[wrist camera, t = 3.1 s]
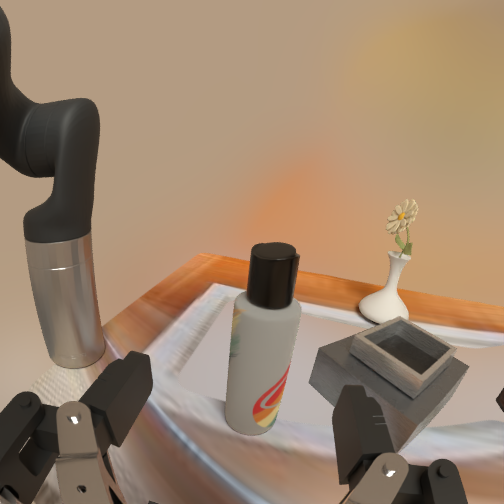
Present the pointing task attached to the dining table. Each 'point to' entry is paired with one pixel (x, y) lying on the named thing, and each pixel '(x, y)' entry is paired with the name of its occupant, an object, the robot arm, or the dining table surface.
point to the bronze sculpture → (501, 400)
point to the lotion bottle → (262, 339)
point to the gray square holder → (392, 374)
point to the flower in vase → (392, 270)
